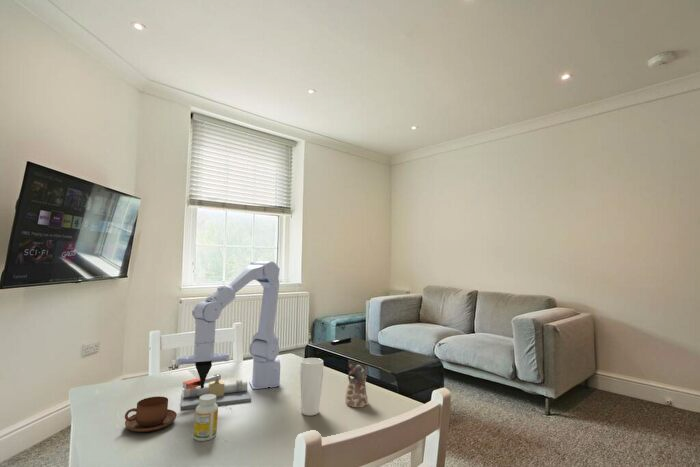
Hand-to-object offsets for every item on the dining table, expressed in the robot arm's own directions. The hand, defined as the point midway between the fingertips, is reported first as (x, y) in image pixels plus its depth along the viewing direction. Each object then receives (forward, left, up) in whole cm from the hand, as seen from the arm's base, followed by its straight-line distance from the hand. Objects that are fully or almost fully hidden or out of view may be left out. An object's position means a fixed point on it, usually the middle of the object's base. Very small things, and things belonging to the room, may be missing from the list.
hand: (201, 387), depth 108 cm
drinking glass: (-30, +15, -6) cm, 34 cm away
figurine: (-46, +13, -6) cm, 48 cm away
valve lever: (0, -3, 0) cm, 3 cm away
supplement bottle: (-1, +20, -6) cm, 21 cm away
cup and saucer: (+12, +9, -6) cm, 16 cm away
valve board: (-5, -6, -6) cm, 9 cm away
